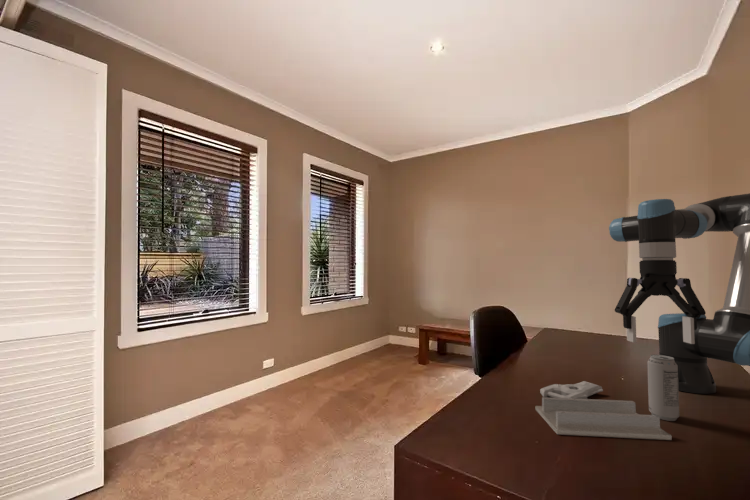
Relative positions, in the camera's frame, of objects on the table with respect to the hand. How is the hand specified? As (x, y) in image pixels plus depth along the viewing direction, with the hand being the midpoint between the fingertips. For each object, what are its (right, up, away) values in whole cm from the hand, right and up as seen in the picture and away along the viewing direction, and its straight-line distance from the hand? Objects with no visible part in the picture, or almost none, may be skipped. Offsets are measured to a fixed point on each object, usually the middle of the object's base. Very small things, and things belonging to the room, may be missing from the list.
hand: (660, 342), depth 91 cm
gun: (-15, -20, +14) cm, 29 cm away
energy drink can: (0, -19, -1) cm, 19 cm away
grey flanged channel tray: (-19, -18, -5) cm, 27 cm away
